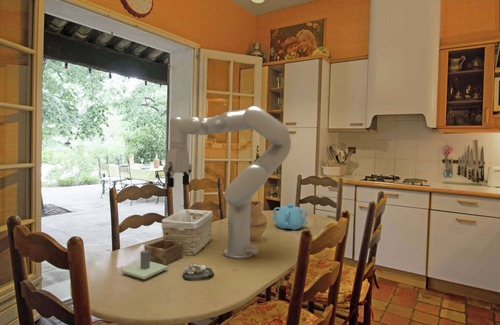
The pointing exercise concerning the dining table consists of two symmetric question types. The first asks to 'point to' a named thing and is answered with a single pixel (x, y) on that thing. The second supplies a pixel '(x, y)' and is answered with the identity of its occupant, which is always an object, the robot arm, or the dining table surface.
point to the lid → (144, 267)
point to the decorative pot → (289, 217)
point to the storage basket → (188, 229)
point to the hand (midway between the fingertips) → (178, 185)
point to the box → (165, 251)
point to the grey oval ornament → (197, 273)
